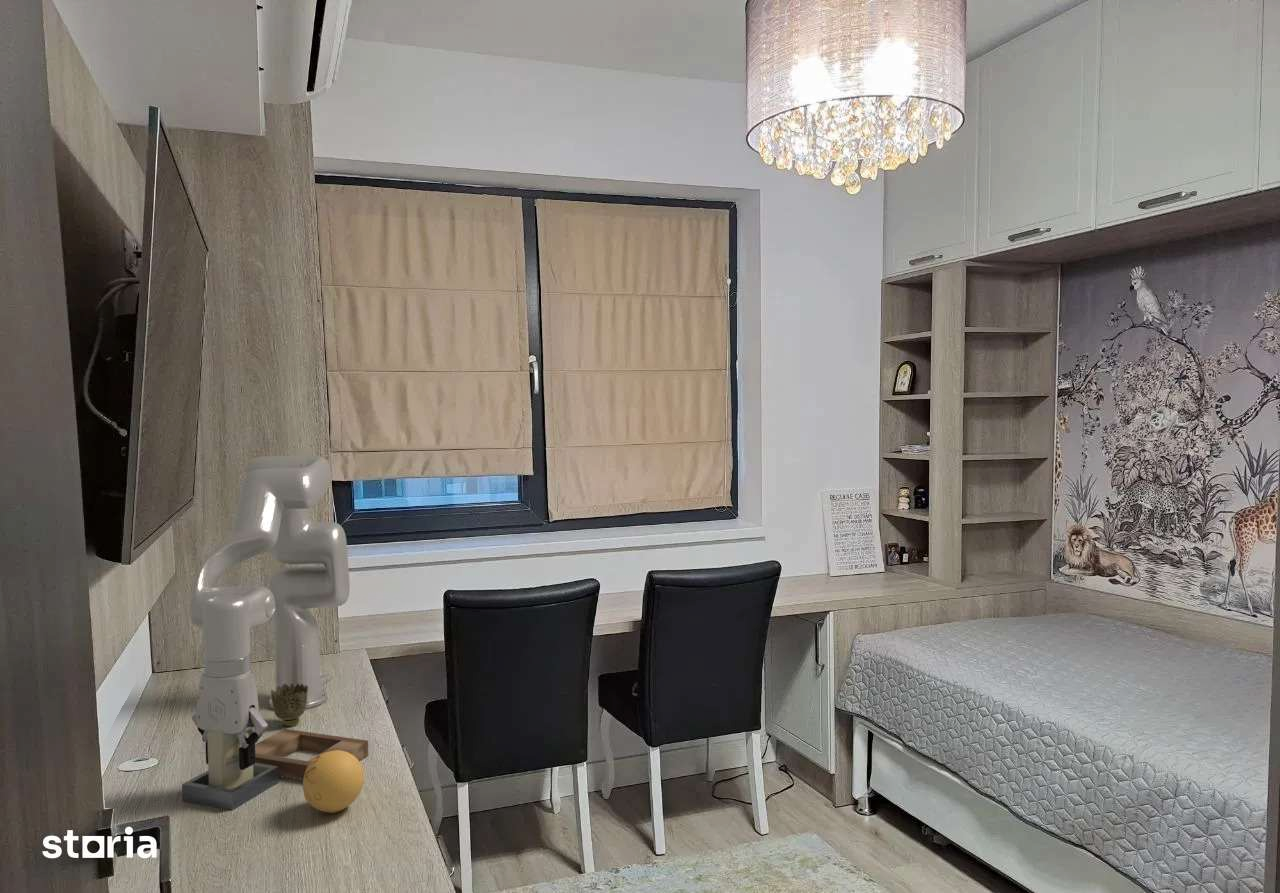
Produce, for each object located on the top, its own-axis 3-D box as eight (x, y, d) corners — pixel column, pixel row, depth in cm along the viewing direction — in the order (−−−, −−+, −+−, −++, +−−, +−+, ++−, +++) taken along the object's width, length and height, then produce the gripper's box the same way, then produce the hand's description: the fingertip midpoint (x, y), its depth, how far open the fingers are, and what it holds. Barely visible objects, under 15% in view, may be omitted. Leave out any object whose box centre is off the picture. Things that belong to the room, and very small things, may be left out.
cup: (295, 732, 178) (294, 695, 178) (264, 729, 179) (263, 693, 179) (315, 719, 185) (314, 683, 185) (285, 717, 187) (284, 681, 186)
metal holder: (230, 774, 158) (230, 758, 158) (278, 782, 155) (278, 766, 154) (182, 800, 148) (181, 784, 147) (232, 810, 144) (232, 793, 144)
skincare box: (224, 800, 148) (221, 732, 147) (207, 795, 150) (205, 728, 149) (255, 786, 153) (253, 720, 153) (239, 781, 155) (237, 716, 155)
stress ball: (371, 807, 147) (353, 757, 152) (371, 782, 140) (354, 730, 146) (311, 831, 142) (296, 779, 147) (309, 806, 135) (293, 752, 141)
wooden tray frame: (285, 743, 172) (285, 728, 172) (368, 755, 166) (368, 740, 166) (236, 769, 160) (236, 754, 160) (324, 784, 154) (324, 767, 154)
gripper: (172, 667, 149) (175, 766, 150) (251, 677, 144) (254, 779, 145) (206, 655, 156) (209, 749, 157) (282, 664, 151) (285, 761, 152)
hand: (230, 763), depth 151 cm, fingers open, 6 cm apart
